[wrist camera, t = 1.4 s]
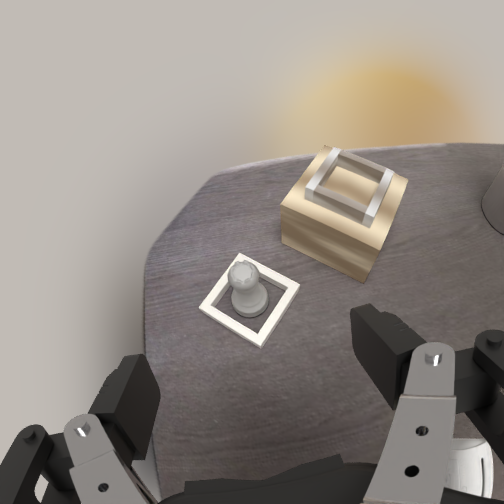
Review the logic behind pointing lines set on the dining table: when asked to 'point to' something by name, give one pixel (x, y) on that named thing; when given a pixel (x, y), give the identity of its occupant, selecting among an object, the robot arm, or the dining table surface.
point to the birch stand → (341, 211)
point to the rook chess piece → (247, 289)
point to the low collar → (273, 319)
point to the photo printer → (470, 467)
